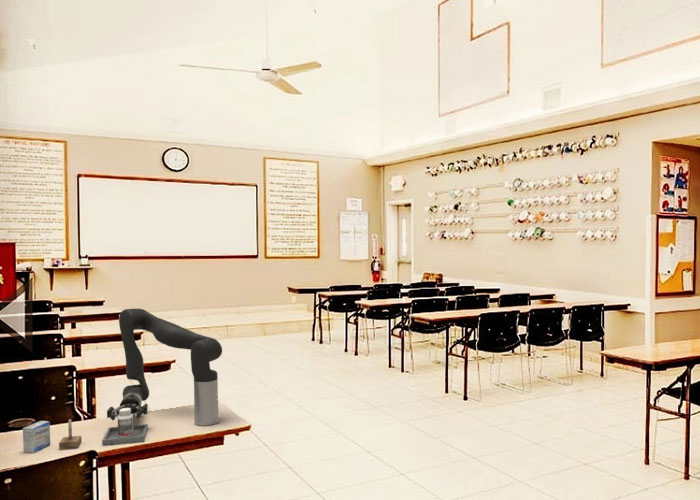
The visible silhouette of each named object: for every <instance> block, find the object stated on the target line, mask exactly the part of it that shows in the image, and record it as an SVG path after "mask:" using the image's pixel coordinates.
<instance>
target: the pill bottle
mask: <svg viewBox="0 0 700 500" xmlns="http://www.w3.org/2000/svg"><path fill="white" fill-rule="evenodd" d="M119 413H120V415H119V416H118V417H117V427H118V436H119V437H121V438H125V437H130V436H132V435H133V432H134V430H133V425H134V416H133V415H132V414H130V413H131V408H123V409H120V410H119Z"/></svg>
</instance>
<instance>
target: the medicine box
mask: <svg viewBox="0 0 700 500" xmlns="http://www.w3.org/2000/svg"><path fill="white" fill-rule="evenodd" d="M22 445H23V448H22V449H23V453H30V452H33V454H35V453H37V452H39V451H41V450H43V449H44V448H47V447H49V446H50V445H51V422H50V421H48V420H39V421H36V422H34V423H32V424H30V425H27V426H25V427H23V428H22Z"/></svg>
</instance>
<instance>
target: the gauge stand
mask: <svg viewBox="0 0 700 500" xmlns="http://www.w3.org/2000/svg"><path fill="white" fill-rule="evenodd" d="M67 423H68V424H67V425H68V426H67V427H68V436H63V437H62V438H61V439H60V441H58V451H62V450H63V451H64V450H75V449H78V448H79V447H80V445H81V444H82V435H73V432H72V431H73V429H72V428H73V426H72V424H73V423H72V419H71V418H69V419H68V422H67Z"/></svg>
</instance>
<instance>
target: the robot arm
mask: <svg viewBox="0 0 700 500" xmlns="http://www.w3.org/2000/svg"><path fill="white" fill-rule="evenodd" d="M118 325H119V330H120V331H119V332H120V335H121V341H122V345H123V349H124V355H125V372H126V373H125V374H126V376H125V377H126V379H127V380H133V381H136V382H138V383H139V384H131V385H127V386H125V387H124V388H123V390H122V399H121V401H120V404H119V406H118V407H116V408H114V406H109V407H108V409H107V410H106V418H108V419H109V418H110V420H112V421H115V420H116V418H118V416H119V415H120V413H119V410H120V409H123V408H131V413H130V414H132V415H133V417H134V416H135V417H136V419H139V418H140V417H142V416H143V415H148V411H149V410H148V403H144V404H143V405H142V402H144V401H147V400H148V399H149V396H150V389H149V387H148V386H149V385H148V384H147V381H146V378H145V372H144V370H145V368H144V357H143V354H142V352H141V351H140V350H141V349H139V346H138V344H137V342H136V340H135V336H134V335H135V333H134V331H135V330H139V331H140V330H142V331H146V332H149V333H150V334H153V337H154V338H155V340H156V341H157V342H159V343H161V344H163V345H165V346H168V347H170V348H175V349H181V350H190V365H191V366H190V367H191V373H192V376H193V403H194V404H193V405H194V406H193V408H194V415H193V416H194V418H193V419H194V424H195V426H196V425H197V426H201V427H202V426H203V427H204V426H212V425H214V424H219V391H218V390H219V389H218V388H219V386H218V383H219V381H218V372H217V370H214V369H211V366H210V362H213V361H216V360H217V359H219V358H220V357H222V354H223V347H222V344H221V343H220V342H219V340H217V339H215V338H213V337H210V336H206V335H203V334H199V333H197V332H194V331H192V330H190V329H187V328H185V327H183V326H180V325H179V324H176V323H173V322H171V321H168V320H166V319H163V318H160V317H157V316H156V315H154V314H152V313H150V312H149V311H147V310H146V309H143V308H126V309H123V310H121V311H120V313H119V317H118Z"/></svg>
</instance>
